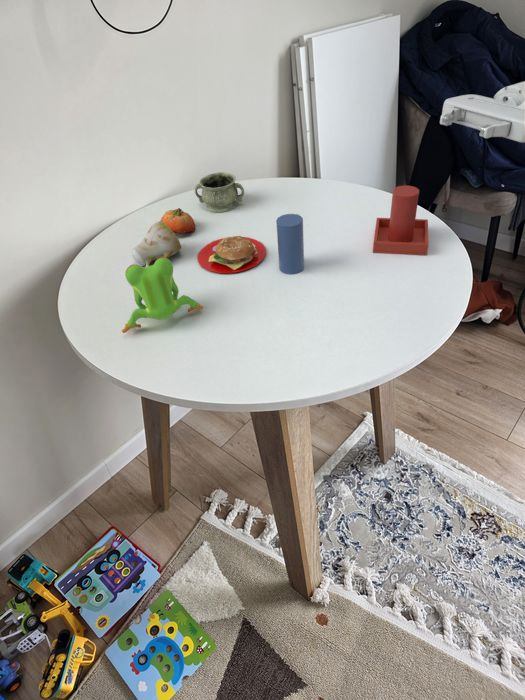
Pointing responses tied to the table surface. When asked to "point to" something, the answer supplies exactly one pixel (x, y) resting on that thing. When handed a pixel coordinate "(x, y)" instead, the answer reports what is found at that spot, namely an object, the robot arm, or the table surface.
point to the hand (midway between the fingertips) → (462, 126)
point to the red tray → (413, 248)
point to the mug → (156, 245)
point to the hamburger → (231, 254)
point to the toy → (155, 292)
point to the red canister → (403, 213)
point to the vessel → (219, 192)
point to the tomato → (178, 221)
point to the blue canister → (290, 243)
